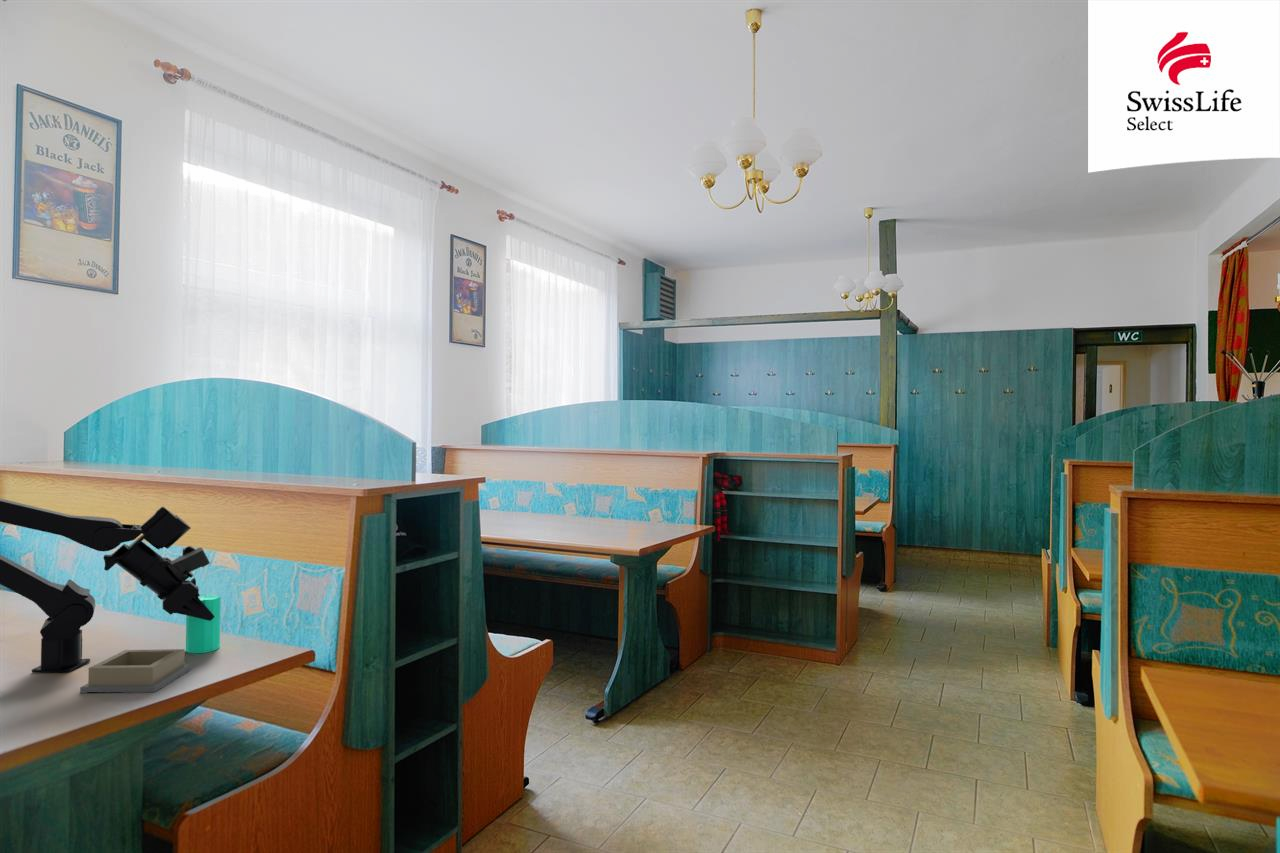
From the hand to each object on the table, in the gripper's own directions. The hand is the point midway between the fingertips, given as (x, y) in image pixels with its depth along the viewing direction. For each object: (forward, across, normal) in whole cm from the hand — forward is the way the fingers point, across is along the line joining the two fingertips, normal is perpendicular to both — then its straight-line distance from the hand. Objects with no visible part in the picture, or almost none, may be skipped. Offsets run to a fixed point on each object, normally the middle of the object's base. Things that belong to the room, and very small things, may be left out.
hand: (211, 615), depth 152 cm
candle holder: (-4, -16, +13) cm, 21 cm away
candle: (+4, 0, +6) cm, 7 cm away
